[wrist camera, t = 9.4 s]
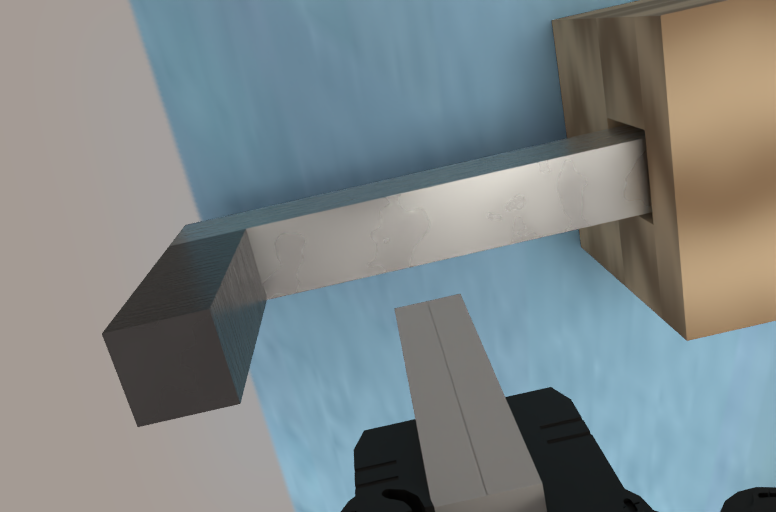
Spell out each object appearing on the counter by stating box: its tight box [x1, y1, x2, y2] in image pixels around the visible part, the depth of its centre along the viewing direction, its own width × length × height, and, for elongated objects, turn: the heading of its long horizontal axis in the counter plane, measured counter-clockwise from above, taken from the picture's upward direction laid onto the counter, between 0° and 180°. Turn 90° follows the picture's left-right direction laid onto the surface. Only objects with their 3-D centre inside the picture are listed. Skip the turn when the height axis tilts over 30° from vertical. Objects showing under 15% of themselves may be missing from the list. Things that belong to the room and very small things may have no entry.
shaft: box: [102, 125, 652, 427], centre depth 24 cm, size 3×25×11 cm, turn 102°
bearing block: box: [552, 0, 776, 341], centre depth 30 cm, size 12×8×12 cm, turn 12°
